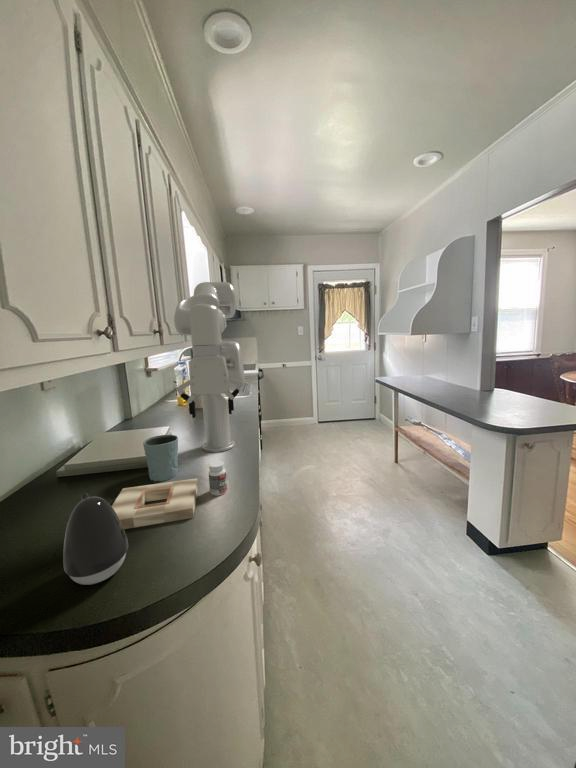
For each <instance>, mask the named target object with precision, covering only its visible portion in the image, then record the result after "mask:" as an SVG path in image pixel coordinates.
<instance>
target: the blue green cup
mask: <svg viewBox="0 0 576 768" xmlns="http://www.w3.org/2000/svg"><path fill="white" fill-rule="evenodd" d="M142 445H143V449H144V454H145V457H146V464H147V468H148V476H149V479H150V480H151V481H152V480H154V481H153V482H156V481H160V482H166V481H169V480H172V479H174V478H175V477H176V475H177V476H178V475H179V454H178V453H179V452H178V451H179V437H178V436H177V435H175V434H161V435H155V436H152V437H149V438H147V439H145V440H143V442H142ZM173 477H174V478H173ZM171 478H172V479H171ZM168 479H169V480H168ZM165 480H166V481H165Z"/></svg>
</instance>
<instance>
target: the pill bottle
mask: <svg viewBox="0 0 576 768" xmlns="http://www.w3.org/2000/svg"><path fill="white" fill-rule="evenodd" d="M208 469H209V470H208V482H209V483H208V484H209V493H210V494H211V495H212V496H216V497H217V496H221V495H225V494H226V493H227V491H228V484H227V470H226V468H225V463H224V461H222V460H215V461H212V462H210V463H209V465H208Z"/></svg>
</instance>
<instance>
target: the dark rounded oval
mask: <svg viewBox="0 0 576 768" xmlns="http://www.w3.org/2000/svg"><path fill="white" fill-rule="evenodd" d="M80 498H81V500H80V501H78V503H77V504H76V505H75V506H74V508H73V509H72V511H71V512H70V513H71V514H70V516H69V519H68V522H67V524H66V529H65V535H64V541H63V552H62V553H63V554H62V555H63V556H62V557H63V559H62V562H63V569H64V572H65V574H67V575H68V576H69V578H70V579H71V580H72V581H73V582H75V583H77V584H79V585H83V586H85V585H88V586H90V585H95V584H99V583H102V582H103V581H105V580H107V579H109V578H110V577H112V576H113V575H114V574H116V573H117V571H118V570H120V568H121V566H122V565H123V563H124V561H125V559H126V555H127V551H128V550H129V549H128V548H129V542H128V536H127V534H126V531H125V530H126V529H124V528H123V525H122V523H121V521H120V519H119V517H118V515H117V514H116V512H115V510H114V509H113V508H112V505H111V504H110V503H109V502H108V501H107V500H106V499H104V498H102V497H100V496H89V494H88V493H87V492H83V493H82V494H81V495H80Z"/></svg>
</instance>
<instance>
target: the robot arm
mask: <svg viewBox="0 0 576 768" xmlns="http://www.w3.org/2000/svg"><path fill="white" fill-rule="evenodd" d="M236 294H237V293H236V290H235V288H234V286H233V285H232V284H231V283H230V282H229V281H204V282H200V283H198V284H197V285H196V286H195V288H194V290H193V295H192V296H190V297H187V298H185V299H182V300H181V301H179V302H178V303H177V305H176V307H175V311H174V316H173V321H174V322H173V323H174V327H175V330H176V332H177V333H178V334H179V335H181V336H187V337H188V336H190V339H191V349H192V358H190V361H189V380H186V381H185V382H183V383H181V384H180V385H179V386H177V387H176V389H175V390H176V392H177V393H178V394H179V395H180V398H181V399H183V400H184V401H185V402H187V404H188V411H189V415H191V416H192V417H191V418H192V419H195V418H196V416H197V412H196V411H197V410H196V402H195V398H196V397H197V396H198V397H199V396H200V397H201V400H202V401H201V402H202V403H201V404H202V413H203V423H204V432H205V434H204V435H205V442H204V443H203V444H202V450H203V451H204V452H208V453H219V452H220V453H221V452H225V451H228V450H231V449H232V448H234V447H235V446H236V444H235V440H233V439H231V429H230V415H232V414H233V413H232V411H235V406H234V405H235V404H234V399H235V398H236V396H238V394H240V391H241V390H243V389H244V388H245V384H246V383H245V382H246V381H245V380H246V378H245V370H244V362H243V353H242V348H241V345H240V343H239V342H237V341H234V340H226V341H225V340H224V341H223V340H222V333H223V332H224V331H225V329H226V328H227V319H231V318H234V316H235V314H236V304H237V295H236ZM189 386H190V387H189ZM188 387H189V388H190V393H191V394H190V395H189V394H187V393H186V392H185V390H184V389H186V388H188ZM223 394H224V395H225V396H226V397H227V398H228V399H227V398H226V397H224V396H223Z"/></svg>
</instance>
